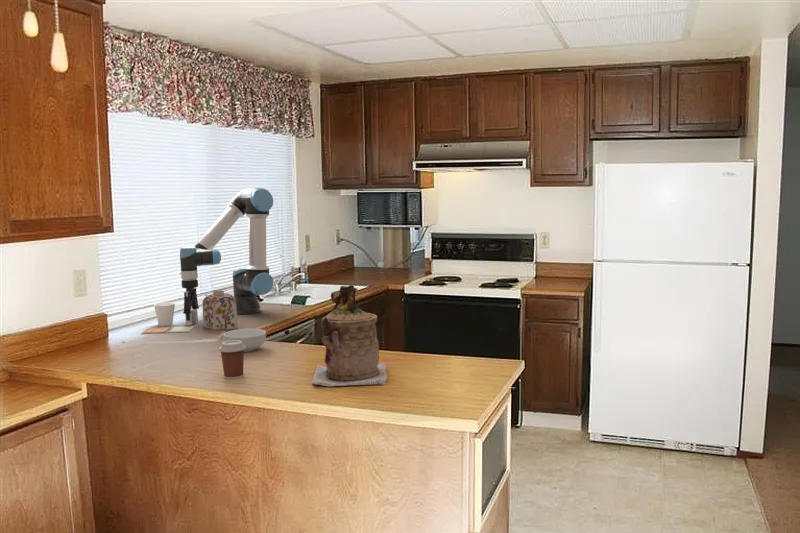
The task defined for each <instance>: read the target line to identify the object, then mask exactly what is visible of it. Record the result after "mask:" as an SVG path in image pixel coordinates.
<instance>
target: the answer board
mask: <svg viewBox="0 0 800 533" xmlns="http://www.w3.org/2000/svg"><path fill="white" fill-rule="evenodd" d="M194 326H195V325H194ZM170 327H171V326H170ZM174 327H175V326H172V327H171V328H170V329H168V330H167V331H166V332H164V333H144V332H145V331H147V330H148V329H150V328H151V327H149V328H147V329H146V330H144V331H143V332H141V333H140V335H157V334H187V333H192V332H193V331H194V330H195V329H197V328H198V326H195V327H194V328H193V329H192V330H191V331H189V332H170V333H168V332H169V331H170V330H171V329H173V328H174Z"/></svg>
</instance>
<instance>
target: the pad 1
mask: <svg viewBox="0 0 800 533" xmlns="http://www.w3.org/2000/svg"><path fill="white" fill-rule="evenodd" d="M149 328H150V329H149ZM149 328H147V329H148V330H147V329H146V330H147V331H146V330H144V331H145V332H144V331H143V332H144V333H163V334H165V333H164V332H166V331H167V330H168V329H170V328H171V326H167V327H166V326H161V327H160V326H159V327H149Z"/></svg>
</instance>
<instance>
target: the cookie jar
mask: <svg viewBox="0 0 800 533" xmlns="http://www.w3.org/2000/svg"><path fill="white" fill-rule="evenodd" d="M358 290H359V289H358V288H357V287H355V286H354V285H353V284H349V285H348V286H346V285H341V286H340V287H339V289H338V290H335V291H332V292H331V293H330V300H331V302H332V303H334V306H333V310H331V312H329V313H327V315H326V316H323V317H322V318H321V322H320V326H321V328H322V338H321V342H322V343H323V346H324V347H325V356H324V363H325V364H326V365H317V366H316V367H315V371H314V374H313V377H312V381H311V383H312V385H313V386H314V385H320V386H325V387H331V388H332V387H338V386H339V387H341V386H346V387H347V386H361V385H364V386H365V385H380V386H381V385H383V386H385V385H386V382H387V379H388V373H387V364H386V363H385V362H379V361H380V347H379V346H380V345H379V339H378V336H377V335H378V334H377V325H376V323H377V321H378V315H376V314H375V313H371V312H366V311H363V310H362V309H361V308H360V307H358V306H357V301H356V293H357V291H358Z"/></svg>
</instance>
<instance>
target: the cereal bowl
mask: <svg viewBox="0 0 800 533" xmlns="http://www.w3.org/2000/svg"><path fill="white" fill-rule="evenodd" d="M222 337H223V342H225V341H230V340H240V341H242V343H243V344H244V345H245V346H246V349H245V350H244V353H247V352H248V353H249V352H253V351H255V350H256V349H257V348H259V347H261V346H262V345H263V344H264V343H265V342H266V339H267V332H266V330H265V329H261V328H249V327H248V328H237V329H232V330H227V331H226V332H225V331H224V333H223V336H222Z"/></svg>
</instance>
